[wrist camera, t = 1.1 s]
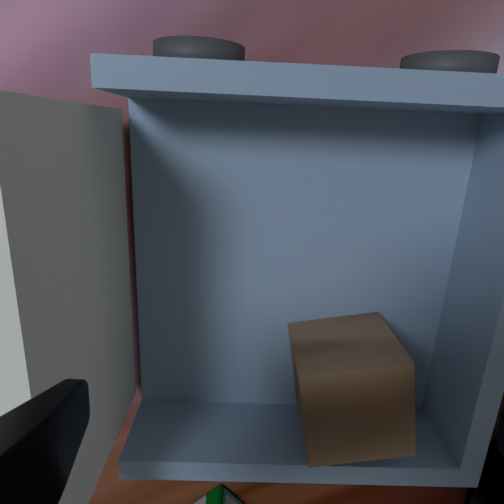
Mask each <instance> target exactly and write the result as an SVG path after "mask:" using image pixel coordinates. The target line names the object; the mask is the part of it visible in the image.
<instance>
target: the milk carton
mask: <svg viewBox="0 0 504 504" xmlns="http://www.w3.org/2000/svg"><path fill="white" fill-rule="evenodd" d="M193 504H242V503H241V502H240V501H239V500H238V499H237V498H236V497H234V496H233V495H232V494H231V493H230V492H229V491H228V490H226V489H225V488H224V487H223V486H222V485H219V486H218V487H216V488H215V489H213V490H212V491H210V492H209V493H208V494H206V495H205V496H203V497H202V498H200V499H199V500H197V501H196V502H194V503H193Z"/></svg>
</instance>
